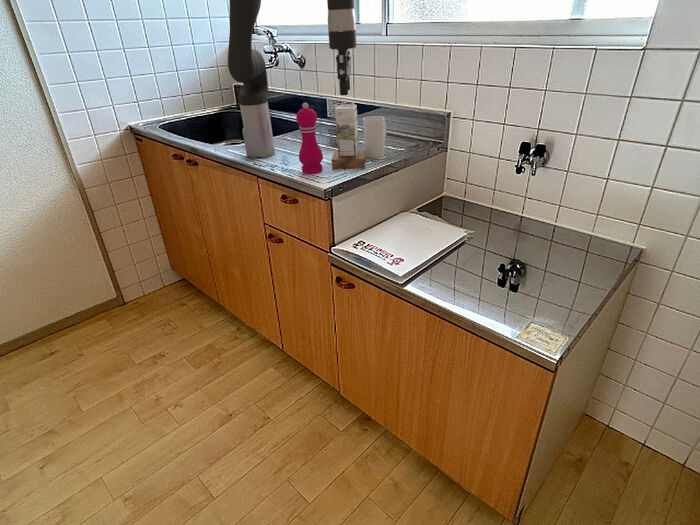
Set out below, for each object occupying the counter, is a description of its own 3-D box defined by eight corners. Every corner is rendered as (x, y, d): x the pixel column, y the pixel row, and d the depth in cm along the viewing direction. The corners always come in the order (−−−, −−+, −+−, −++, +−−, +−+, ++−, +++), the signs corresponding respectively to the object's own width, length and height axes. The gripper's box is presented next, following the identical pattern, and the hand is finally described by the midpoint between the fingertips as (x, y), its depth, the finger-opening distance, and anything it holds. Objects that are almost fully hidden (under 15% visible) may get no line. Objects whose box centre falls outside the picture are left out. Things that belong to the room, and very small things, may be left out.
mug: (376, 160, 136) (375, 121, 130) (360, 157, 140) (358, 119, 134) (394, 152, 143) (394, 115, 137) (378, 149, 147) (377, 113, 141)
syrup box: (359, 151, 135) (357, 103, 127) (356, 157, 130) (353, 107, 122) (341, 152, 136) (338, 104, 128) (338, 157, 131) (334, 108, 123)
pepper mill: (324, 167, 133) (318, 99, 123) (323, 174, 127) (317, 103, 117) (301, 168, 133) (293, 101, 123) (299, 176, 127) (291, 105, 117)
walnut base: (332, 169, 130) (331, 159, 129) (335, 160, 139) (334, 150, 137) (364, 168, 129) (364, 158, 128) (365, 158, 138) (365, 149, 136)
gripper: (331, 29, 122) (334, 89, 130) (325, 30, 110) (329, 97, 118) (357, 27, 121) (359, 88, 129) (354, 29, 109) (356, 96, 117)
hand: (345, 92), depth 123 cm, fingers open, 8 cm apart
